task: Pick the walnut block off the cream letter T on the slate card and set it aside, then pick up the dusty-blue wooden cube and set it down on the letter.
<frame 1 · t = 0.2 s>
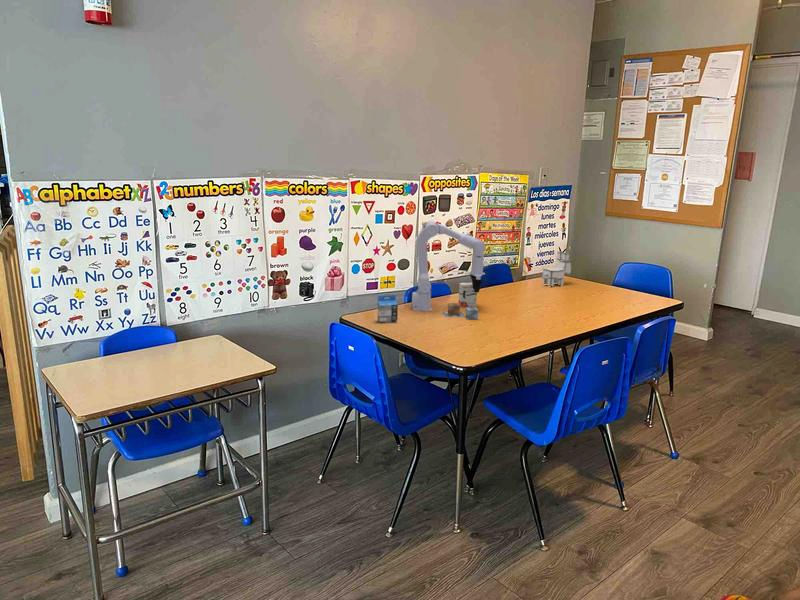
hand: (475, 290, 301), 10 cm above the table, tool pointing down, fingers open, 7 cm apart
toy llama: (554, 285, 363), on the table
letter card: (453, 314, 293), on the table
ink box: (467, 306, 310), on the table, touching gripper
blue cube: (471, 318, 287), on the table
label tape box: (387, 321, 279), on the table
walnut block: (453, 314, 292), resting on letter card
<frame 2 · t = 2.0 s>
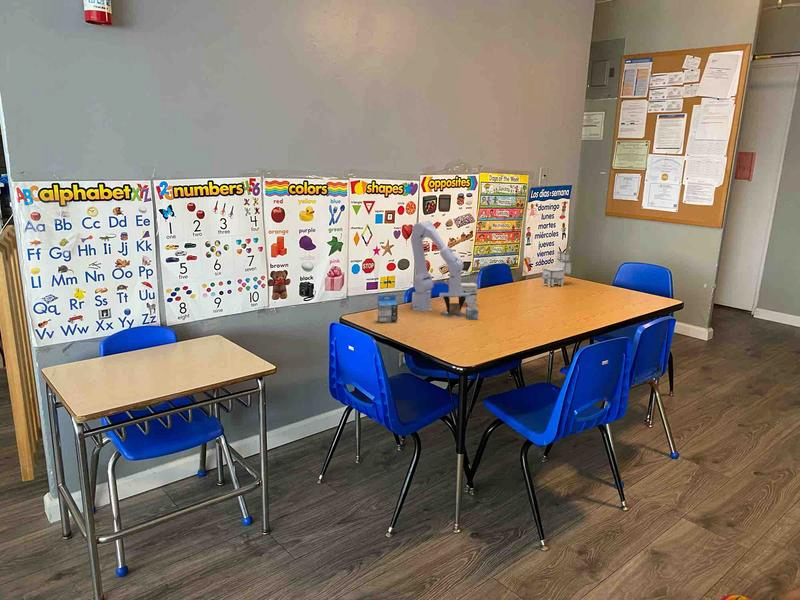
hand: (453, 311, 292), 2 cm above the table, tool pointing down, fingers closed on walnut block, 5 cm apart
ink box: (467, 306, 310), on the table
walnut block: (453, 314, 292), resting on letter card, touching gripper
everything else where it was.
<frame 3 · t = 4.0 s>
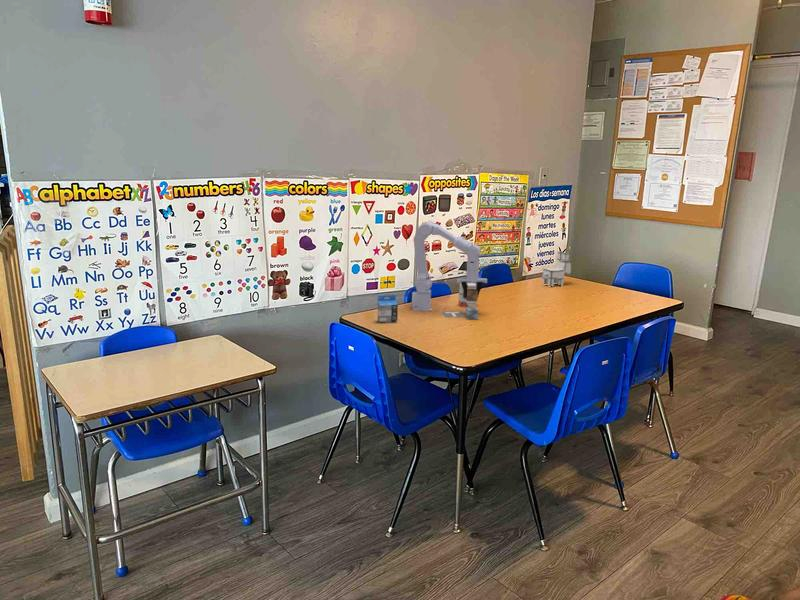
hand: (471, 297, 293), 9 cm above the table, tool pointing down, fingers closed on walnut block, 5 cm apart
walnut block: (471, 299, 293), point 7 cm above the table, touching gripper
everything else where it was.
when the fingers open (3 cm above the table, at t = 5.8 s): walnut block drops 2 cm, on the table.
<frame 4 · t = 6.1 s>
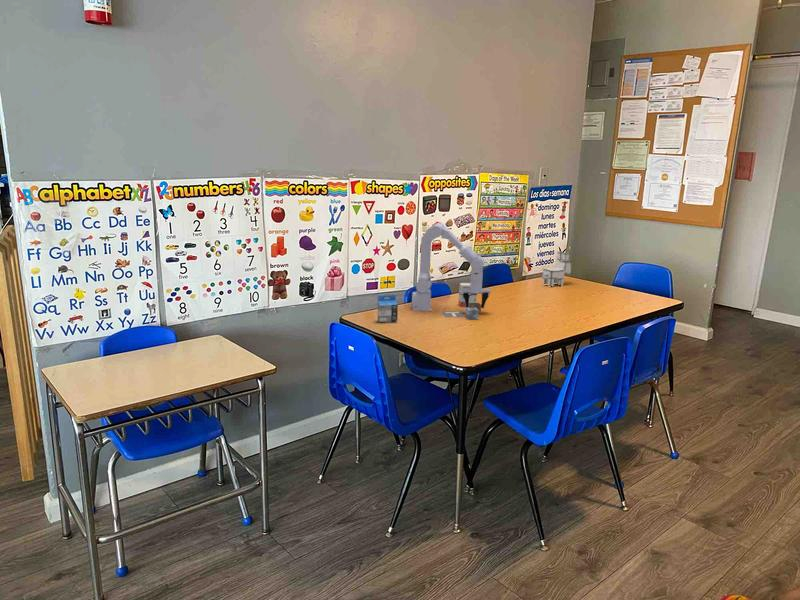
hand: (474, 307, 295), 3 cm above the table, tool pointing down, fingers open, 7 cm apart
walnut block: (474, 313, 296), on the table
everything else where it was.
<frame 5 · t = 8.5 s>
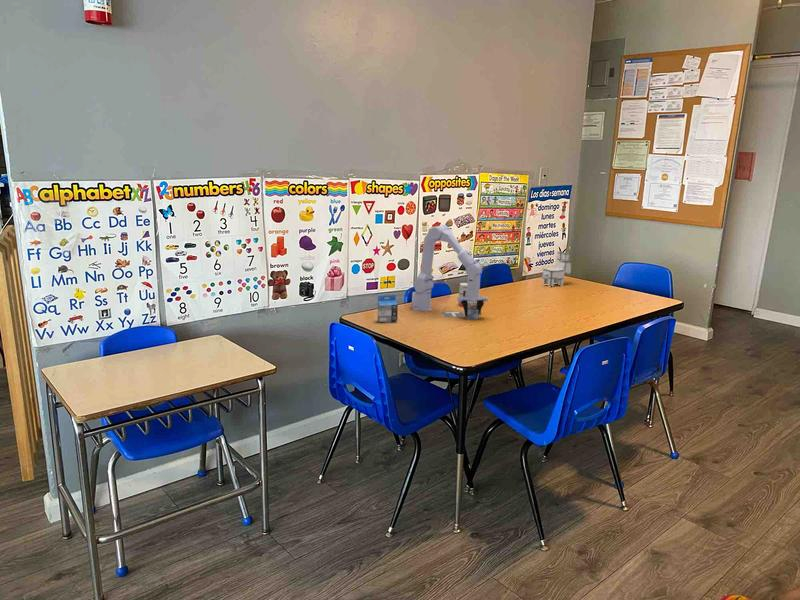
hand: (471, 315, 286), 1 cm above the table, tool pointing down, fingers closed on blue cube, 5 cm apart
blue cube: (471, 318, 287), on the table, touching gripper
everything else where it was.
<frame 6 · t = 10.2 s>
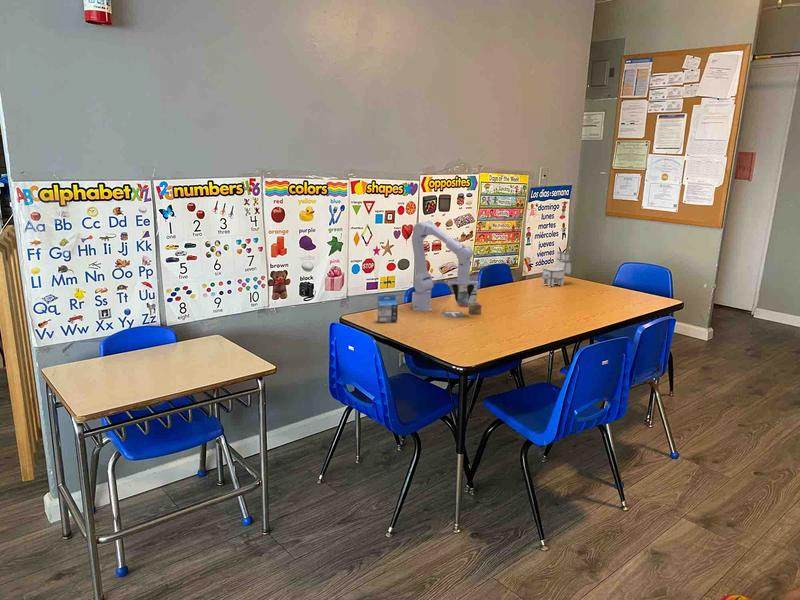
hand: (462, 300, 288), 8 cm above the table, tool pointing down, fingers closed on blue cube, 5 cm apart
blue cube: (462, 302, 288), point 7 cm above the table, touching gripper
everything else where it was.
when the fingers open (3 cm above the table, at t = 12.0 s): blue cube drops 2 cm, resting on letter card.
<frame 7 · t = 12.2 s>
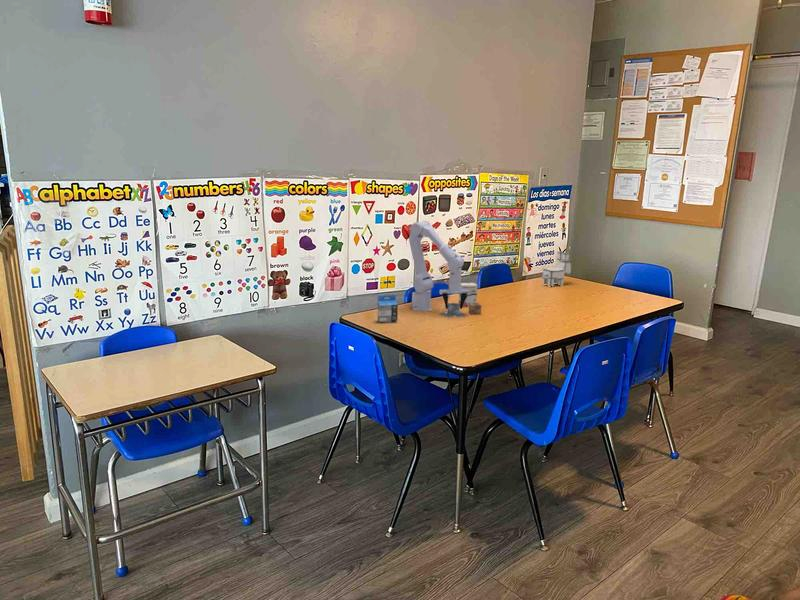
hand: (453, 308, 292), 3 cm above the table, tool pointing down, fingers open, 7 cm apart
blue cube: (453, 314, 292), resting on letter card
everything else where it was.
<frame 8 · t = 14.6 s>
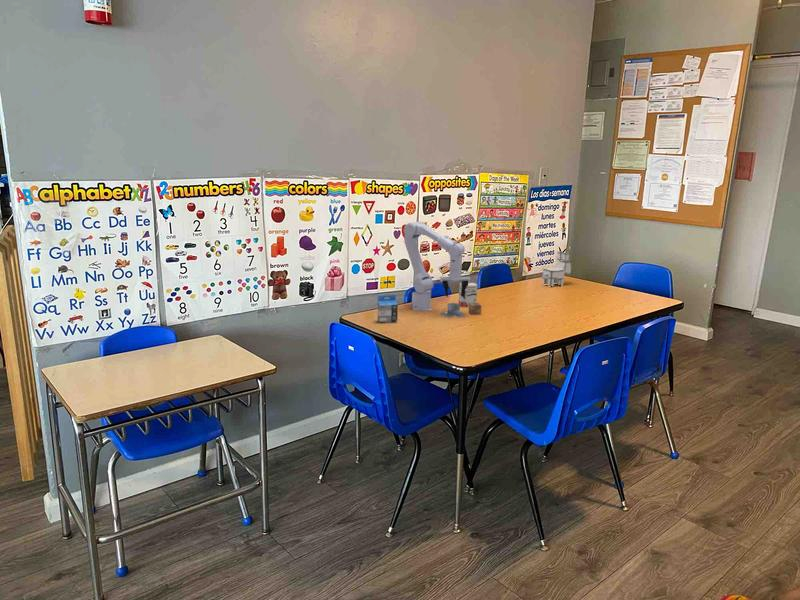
hand: (454, 296, 290), 9 cm above the table, tool pointing down, fingers open, 7 cm apart
nothing on the table moved.
at the end: walnut block touching table; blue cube 0.1 cm off-centre on the letter card, point 0.2 cm above the letter card's base; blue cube tilted 0° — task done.
